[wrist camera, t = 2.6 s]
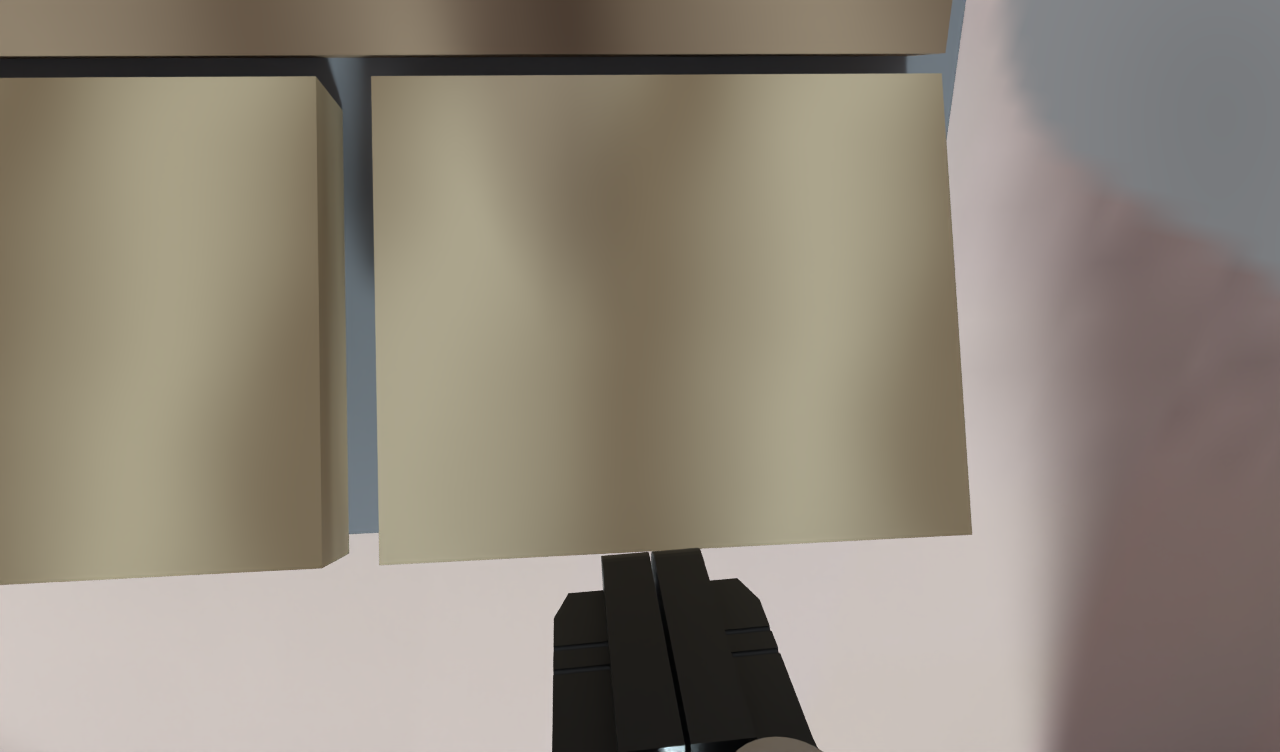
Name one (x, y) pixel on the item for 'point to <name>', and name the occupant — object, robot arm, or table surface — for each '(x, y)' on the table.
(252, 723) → the table surface
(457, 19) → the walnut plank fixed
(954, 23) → the underlay board
